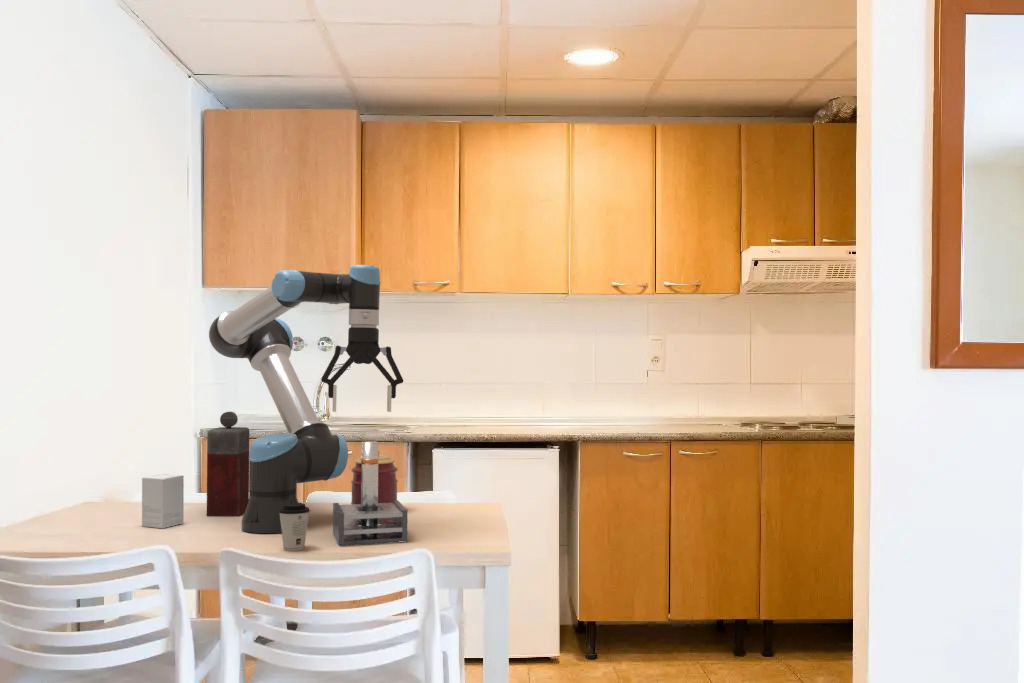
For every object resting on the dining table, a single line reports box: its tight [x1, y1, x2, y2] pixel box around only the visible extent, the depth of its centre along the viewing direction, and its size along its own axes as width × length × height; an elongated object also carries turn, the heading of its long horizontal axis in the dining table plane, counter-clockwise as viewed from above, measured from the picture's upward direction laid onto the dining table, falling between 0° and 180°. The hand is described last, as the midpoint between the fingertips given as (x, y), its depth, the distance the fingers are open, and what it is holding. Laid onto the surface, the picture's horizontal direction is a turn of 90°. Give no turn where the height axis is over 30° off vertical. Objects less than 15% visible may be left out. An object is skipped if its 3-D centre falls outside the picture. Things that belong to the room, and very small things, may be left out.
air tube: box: [360, 440, 379, 535], centre depth 212 cm, size 4×4×22 cm
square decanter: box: [206, 411, 250, 517], centre depth 243 cm, size 9×11×28 cm
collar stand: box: [332, 499, 409, 547], centre depth 212 cm, size 16×14×8 cm
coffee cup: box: [279, 502, 311, 552], centre depth 200 cm, size 7×7×10 cm
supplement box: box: [141, 473, 185, 529], centre depth 225 cm, size 7×7×13 cm
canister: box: [350, 449, 399, 511], centre depth 247 cm, size 13×13×18 cm
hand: (361, 411), depth 220 cm, fingers open, 13 cm apart
